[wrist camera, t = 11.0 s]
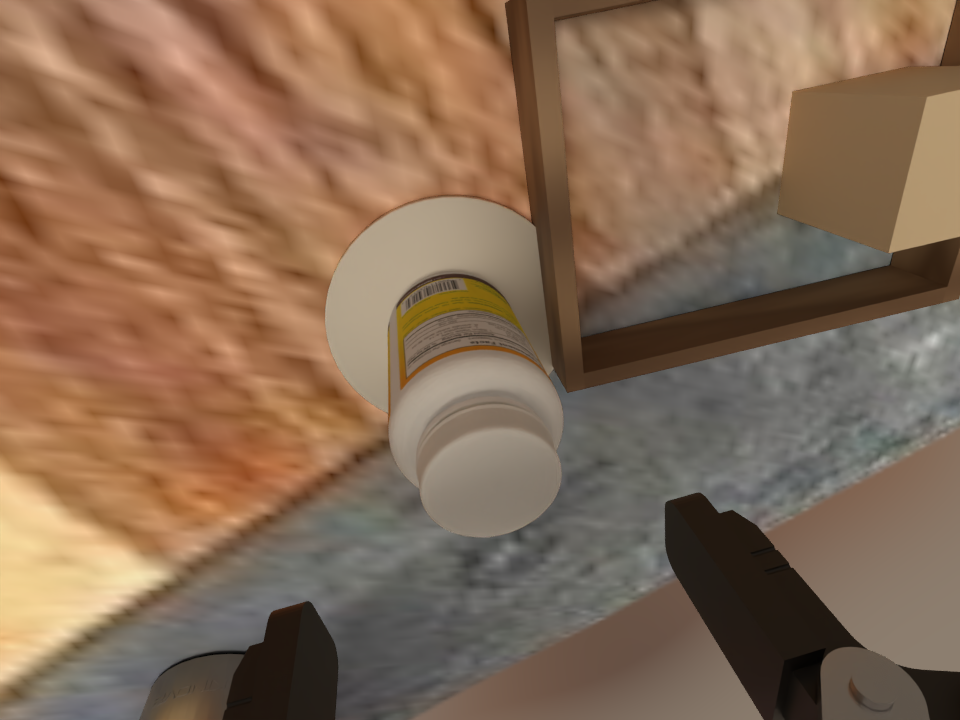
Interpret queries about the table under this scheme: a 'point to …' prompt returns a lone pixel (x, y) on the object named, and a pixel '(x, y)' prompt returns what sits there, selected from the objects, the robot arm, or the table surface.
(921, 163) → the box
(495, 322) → the supplement bottle
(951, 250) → the wooden frame
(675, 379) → the table surface
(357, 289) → the coaster
